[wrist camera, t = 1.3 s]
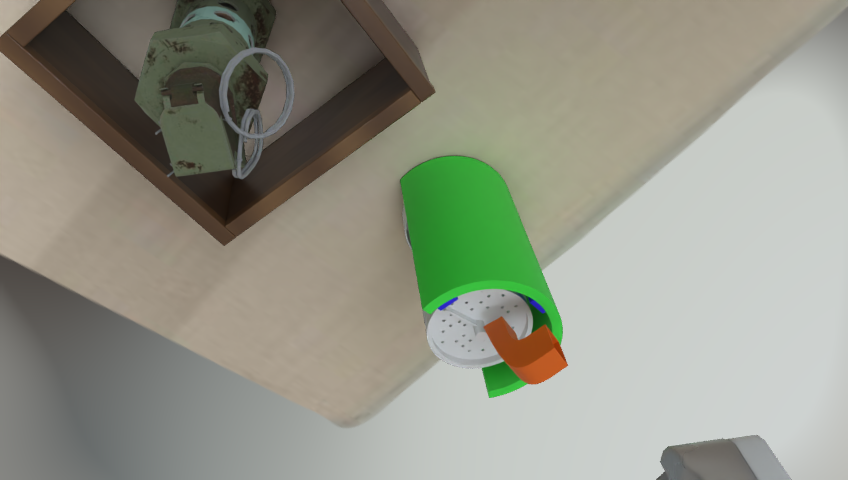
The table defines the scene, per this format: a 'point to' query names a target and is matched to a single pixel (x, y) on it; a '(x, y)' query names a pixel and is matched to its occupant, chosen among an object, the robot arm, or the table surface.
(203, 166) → the grenade
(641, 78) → the table surface
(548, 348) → the green-shelled ribbed roller
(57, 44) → the wooden box
